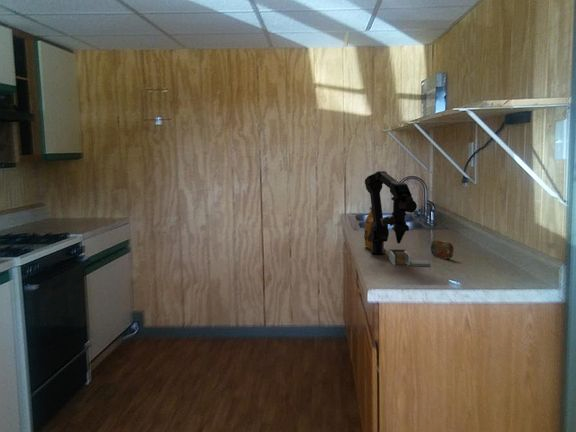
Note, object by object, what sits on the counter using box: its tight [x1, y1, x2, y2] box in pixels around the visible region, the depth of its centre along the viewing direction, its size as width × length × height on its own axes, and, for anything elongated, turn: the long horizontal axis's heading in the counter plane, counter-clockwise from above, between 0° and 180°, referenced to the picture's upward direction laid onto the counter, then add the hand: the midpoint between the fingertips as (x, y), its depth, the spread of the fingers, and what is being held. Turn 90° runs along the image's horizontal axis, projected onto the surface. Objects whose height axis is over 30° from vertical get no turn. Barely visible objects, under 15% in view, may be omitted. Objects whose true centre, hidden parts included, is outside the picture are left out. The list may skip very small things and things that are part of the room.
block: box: [395, 252, 406, 265], centre depth 258 cm, size 4×4×5 cm
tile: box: [410, 259, 431, 267], centre depth 255 cm, size 8×8×1 cm
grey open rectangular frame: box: [388, 248, 411, 266], centre depth 260 cm, size 13×8×5 cm, turn 178°
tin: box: [430, 239, 454, 260], centre depth 270 cm, size 15×3×8 cm, turn 21°
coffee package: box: [363, 205, 385, 251], centre depth 294 cm, size 10×12×22 cm
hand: (398, 243), depth 262 cm, fingers closed
